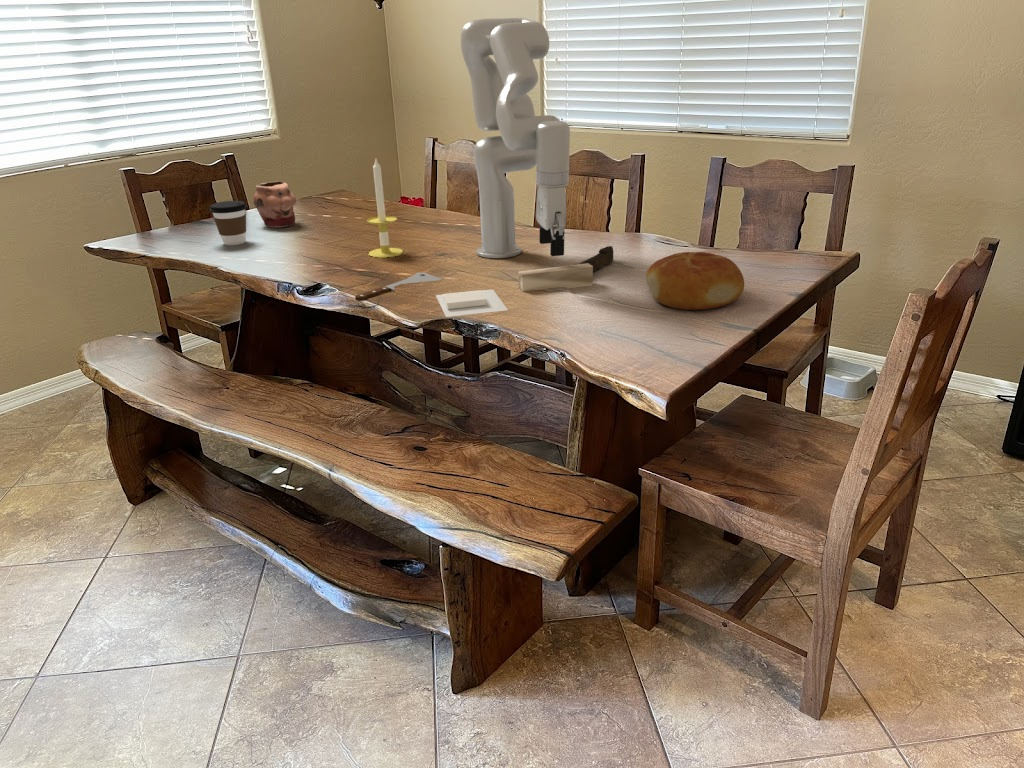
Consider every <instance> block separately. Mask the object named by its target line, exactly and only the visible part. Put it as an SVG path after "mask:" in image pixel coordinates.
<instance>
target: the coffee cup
mask: <svg viewBox="0 0 1024 768" xmlns="http://www.w3.org/2000/svg"><path fill="white" fill-rule="evenodd" d="M209 207H210V208H209V212H210V213H212V215H213V219H214V222H215V225H216V228H217V231H218V234H219V235H220V238H221V240H222V243H223V244H224V246H237V245H238V246H239V245H243V244H245V243H246V238H247V234H246V233H247V214H246V209H248V205H247V204H246V203H245V202H244V200H243V201H241V200H227V201H225V200H224V201H219V202H215V203H212V204H210V206H209Z"/></svg>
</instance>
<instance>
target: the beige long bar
mask: <svg viewBox="0 0 1024 768" xmlns="http://www.w3.org/2000/svg"><path fill="white" fill-rule="evenodd" d="M577 264H578V265H575V264H572V265H570V264H569V265H563V266H561V265H560V266H554V267H546V268H545V267H544V268H537V269H528V270H521V271H518V273H517V274H518V289H519V290H520V291H521V292H523V293H524V292H530V291H531V292H532V291H539V290H548V289H556V288H565V289H567V290H568V289H575V288H583V287H591V286H593V285H594V282H593V281H594V271H593V266H592V265H590V264H589V263H586V264H579V263H577Z"/></svg>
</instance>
